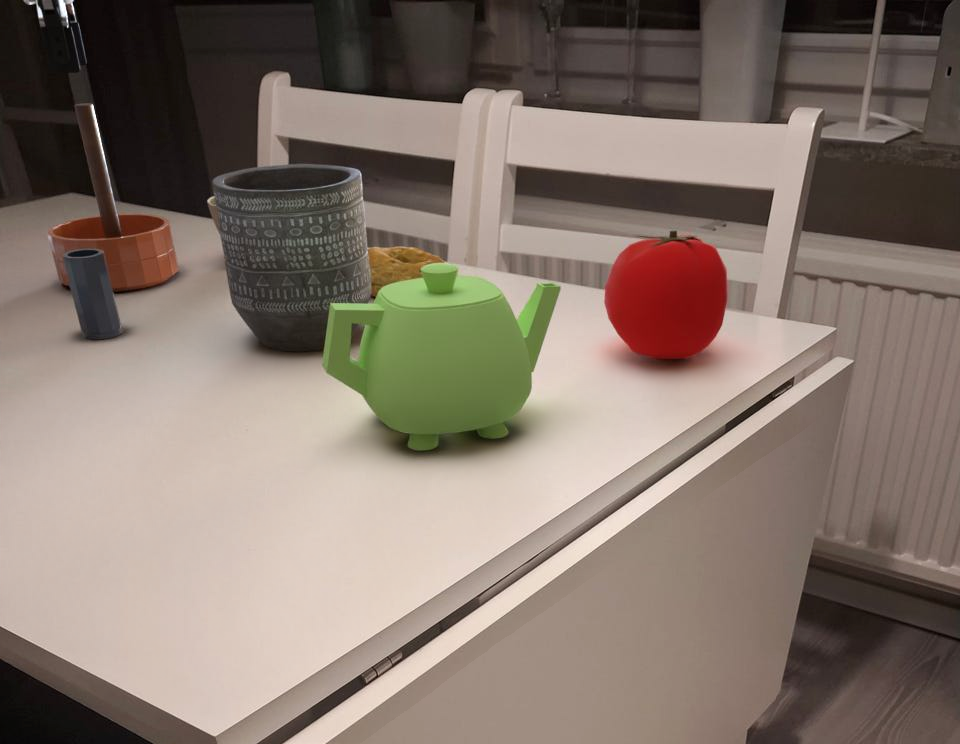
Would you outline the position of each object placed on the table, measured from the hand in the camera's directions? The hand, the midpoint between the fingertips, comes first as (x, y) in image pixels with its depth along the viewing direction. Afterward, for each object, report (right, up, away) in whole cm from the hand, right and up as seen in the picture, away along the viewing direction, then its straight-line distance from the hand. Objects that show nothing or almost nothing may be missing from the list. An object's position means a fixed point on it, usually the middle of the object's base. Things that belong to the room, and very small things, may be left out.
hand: (68, 68), depth 111 cm
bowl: (+1, -17, +14) cm, 22 cm away
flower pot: (+16, -12, +21) cm, 29 cm away
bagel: (+37, -22, +6) cm, 43 cm away
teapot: (+43, -48, -26) cm, 69 cm away
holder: (+5, -31, -4) cm, 32 cm away
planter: (+28, -33, -7) cm, 43 cm away
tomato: (+63, -37, -13) cm, 74 cm away
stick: (+1, -17, +13) cm, 21 cm away
